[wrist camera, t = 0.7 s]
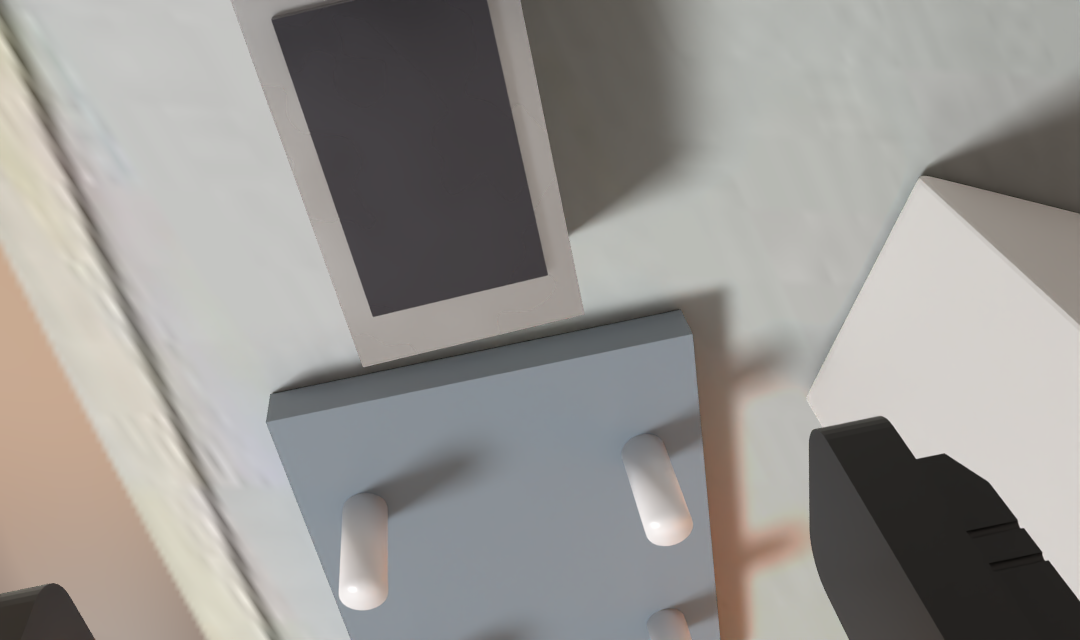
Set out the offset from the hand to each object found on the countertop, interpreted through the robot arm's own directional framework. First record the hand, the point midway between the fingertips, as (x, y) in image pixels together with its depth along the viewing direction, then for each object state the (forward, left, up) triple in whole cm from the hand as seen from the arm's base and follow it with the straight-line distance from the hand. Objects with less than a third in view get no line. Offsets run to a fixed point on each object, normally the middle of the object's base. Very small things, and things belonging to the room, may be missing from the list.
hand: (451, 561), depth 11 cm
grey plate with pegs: (+10, +10, -14) cm, 20 cm away
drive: (0, 0, -14) cm, 15 cm away
